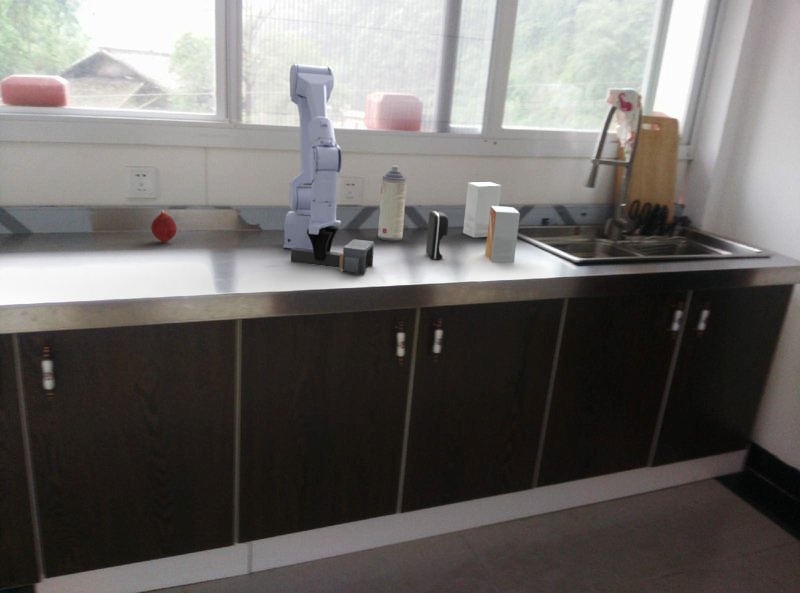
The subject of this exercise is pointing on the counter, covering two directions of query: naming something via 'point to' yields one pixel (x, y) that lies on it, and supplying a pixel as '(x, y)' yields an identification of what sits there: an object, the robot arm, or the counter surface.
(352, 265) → the housing
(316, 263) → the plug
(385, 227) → the aerosol can
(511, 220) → the small box
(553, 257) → the counter surface
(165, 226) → the onion
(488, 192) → the skincare box
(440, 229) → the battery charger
